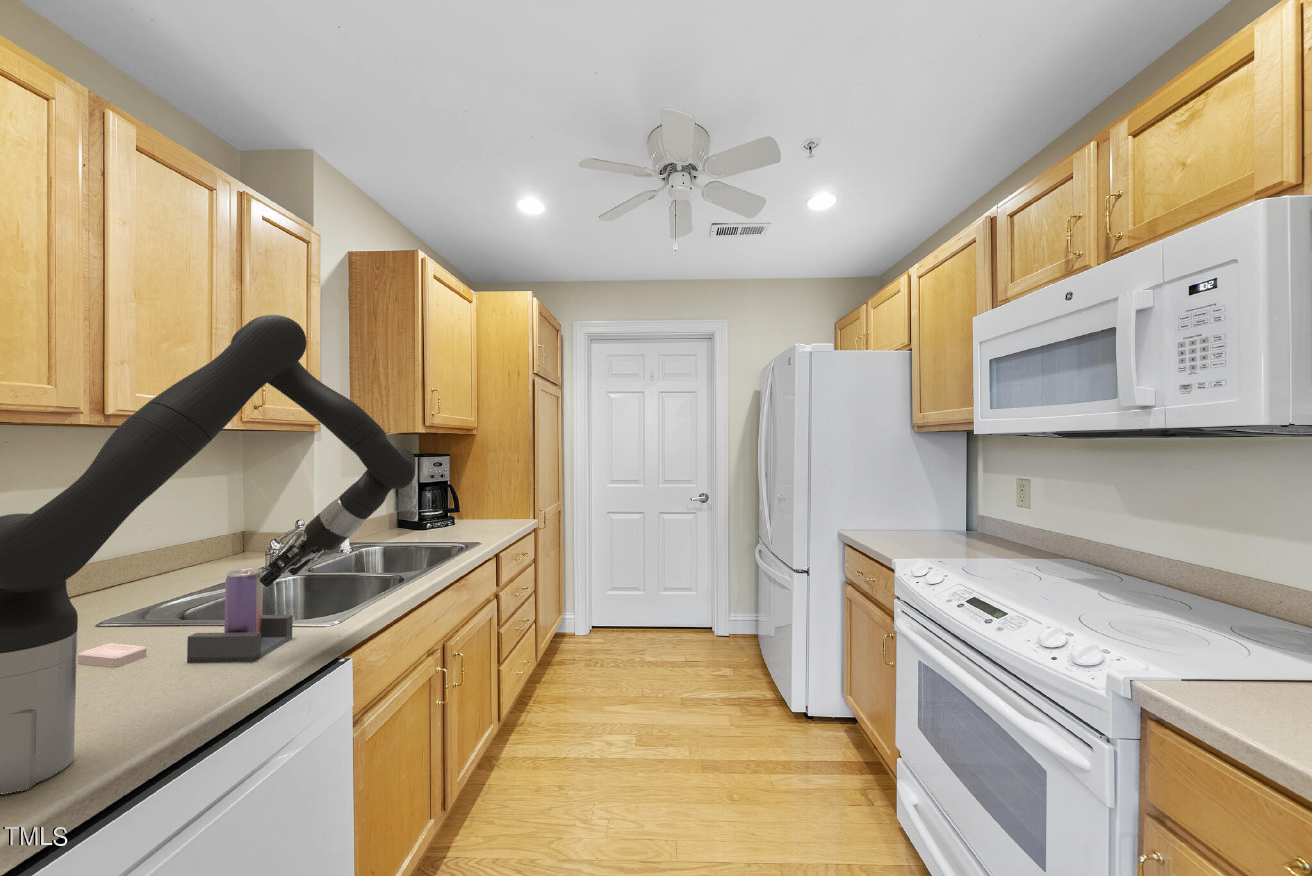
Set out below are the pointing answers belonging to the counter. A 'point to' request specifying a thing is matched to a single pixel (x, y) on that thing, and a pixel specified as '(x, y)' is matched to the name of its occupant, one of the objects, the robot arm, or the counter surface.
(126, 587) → the counter surface
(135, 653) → the soap bar
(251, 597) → the beverage can
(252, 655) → the duct channel
